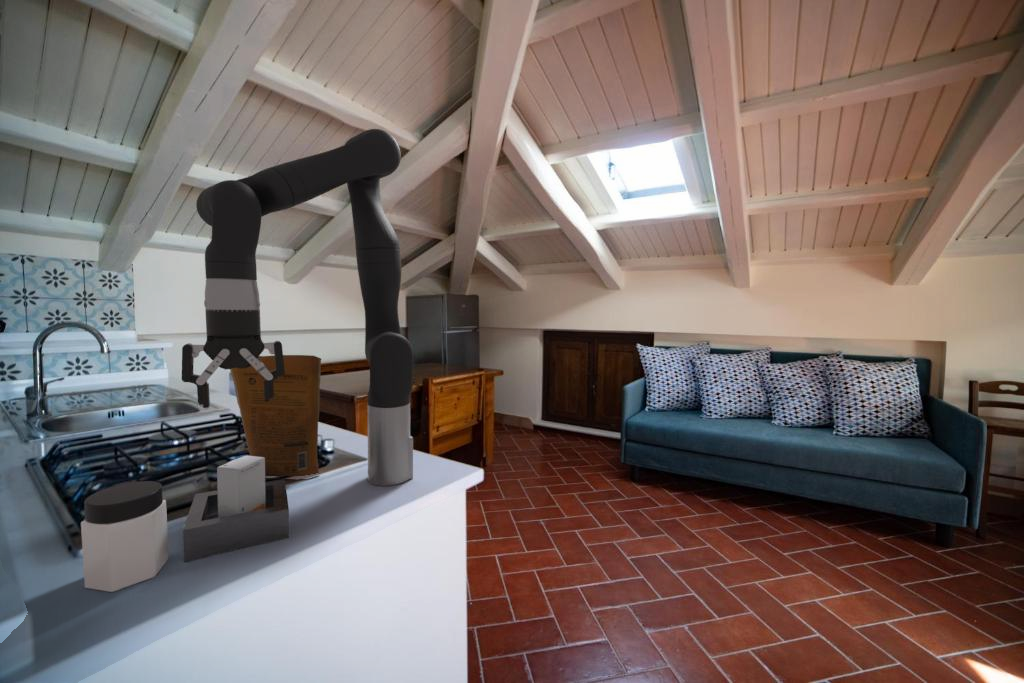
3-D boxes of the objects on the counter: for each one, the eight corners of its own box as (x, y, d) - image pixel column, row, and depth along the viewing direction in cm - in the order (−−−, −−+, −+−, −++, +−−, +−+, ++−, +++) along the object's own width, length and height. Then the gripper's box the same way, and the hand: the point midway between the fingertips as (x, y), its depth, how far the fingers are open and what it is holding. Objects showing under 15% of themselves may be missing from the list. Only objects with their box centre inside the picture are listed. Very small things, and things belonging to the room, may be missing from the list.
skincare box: (239, 539, 69) (237, 469, 68) (217, 536, 70) (215, 466, 69) (267, 521, 75) (265, 456, 74) (247, 518, 76) (245, 454, 75)
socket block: (285, 503, 82) (284, 478, 82) (289, 537, 70) (288, 508, 70) (196, 520, 75) (195, 493, 75) (184, 562, 63) (182, 530, 63)
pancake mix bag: (315, 484, 91) (313, 356, 89) (230, 481, 92) (226, 354, 90) (330, 472, 98) (328, 353, 96) (251, 469, 99) (247, 351, 97)
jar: (162, 548, 66) (159, 475, 65) (175, 570, 61) (171, 490, 60) (81, 575, 59) (76, 493, 59) (88, 602, 54) (82, 513, 53)
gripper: (281, 307, 76) (284, 395, 78) (182, 307, 69) (187, 404, 70) (283, 308, 70) (286, 403, 71) (174, 307, 63) (180, 414, 64)
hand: (237, 403), depth 71 cm, fingers open, 8 cm apart
